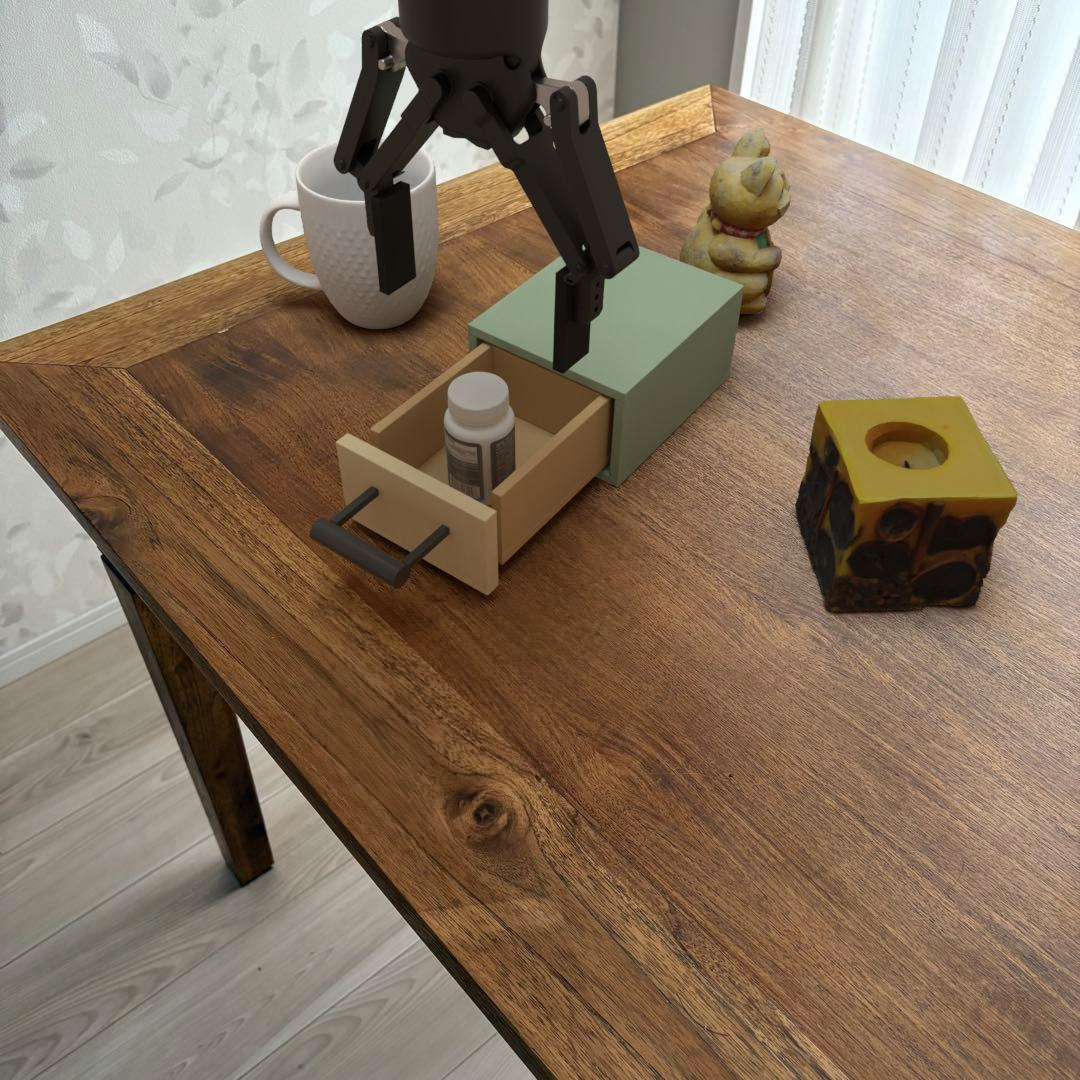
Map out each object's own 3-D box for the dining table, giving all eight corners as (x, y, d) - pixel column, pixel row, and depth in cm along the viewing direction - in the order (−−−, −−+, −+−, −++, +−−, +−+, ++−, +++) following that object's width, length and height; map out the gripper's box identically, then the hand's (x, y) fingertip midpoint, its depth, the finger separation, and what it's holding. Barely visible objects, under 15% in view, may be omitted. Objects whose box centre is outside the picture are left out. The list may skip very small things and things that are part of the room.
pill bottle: (505, 457, 80) (504, 362, 74) (523, 500, 77) (523, 405, 71) (441, 469, 79) (434, 374, 73) (456, 513, 76) (451, 417, 70)
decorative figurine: (781, 329, 95) (814, 163, 84) (687, 336, 94) (708, 170, 83) (750, 268, 102) (777, 107, 91) (662, 274, 101) (679, 113, 90)
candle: (977, 610, 73) (1026, 499, 66) (826, 617, 72) (859, 506, 65) (928, 503, 80) (968, 392, 73) (790, 508, 79) (816, 398, 72)
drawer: (432, 650, 69) (425, 576, 64) (289, 563, 74) (272, 488, 69) (618, 468, 81) (624, 394, 76) (484, 404, 86) (482, 331, 81)
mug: (260, 342, 93) (230, 198, 84) (286, 270, 101) (261, 132, 91) (437, 347, 93) (427, 204, 83) (450, 275, 100) (442, 136, 91)
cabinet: (617, 488, 81) (625, 394, 75) (471, 416, 86) (467, 324, 80) (729, 376, 90) (744, 285, 84) (591, 318, 96) (595, 229, 90)
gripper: (736, -13, 51) (685, 365, 66) (337, -115, 61) (371, 233, 76) (649, 37, 47) (615, 429, 62) (235, -82, 57) (293, 280, 72)
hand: (481, 321), depth 69 cm, fingers open, 13 cm apart
